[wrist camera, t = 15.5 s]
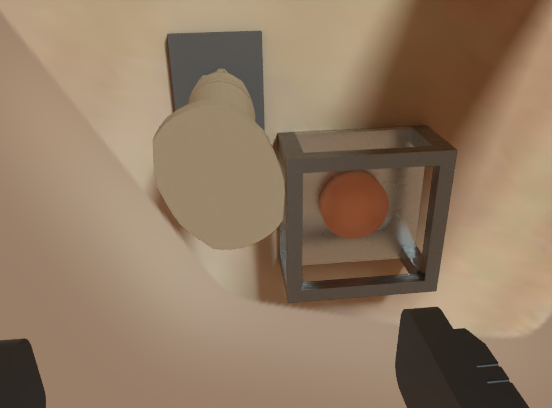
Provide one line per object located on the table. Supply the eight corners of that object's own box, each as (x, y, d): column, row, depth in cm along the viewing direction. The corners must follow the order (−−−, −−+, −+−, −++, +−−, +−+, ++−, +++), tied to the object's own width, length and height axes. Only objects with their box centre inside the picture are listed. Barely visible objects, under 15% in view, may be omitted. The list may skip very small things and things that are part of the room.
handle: (208, 147, 35) (202, 264, 22) (165, 61, 33) (127, 136, 19) (272, 120, 35) (304, 223, 22) (233, 30, 32) (243, 86, 19)
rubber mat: (167, 33, 32) (167, 34, 32) (260, 30, 33) (261, 31, 32) (178, 137, 35) (178, 140, 35) (263, 133, 36) (264, 136, 35)
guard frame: (277, 133, 36) (287, 159, 31) (426, 125, 37) (457, 150, 32) (279, 263, 41) (288, 303, 36) (411, 253, 42) (436, 291, 37)
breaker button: (319, 172, 37) (323, 179, 36) (386, 168, 38) (391, 175, 36) (318, 231, 39) (321, 240, 38) (380, 227, 40) (386, 236, 39)
